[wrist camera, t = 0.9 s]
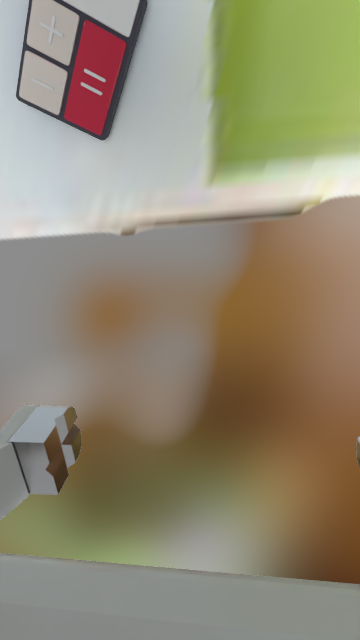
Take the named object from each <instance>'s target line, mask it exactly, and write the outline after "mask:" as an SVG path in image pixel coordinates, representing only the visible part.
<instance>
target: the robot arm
mask: <svg viewBox="0 0 360 640" xmlns="http://www.w3.org/2000/svg"><path fill="white" fill-rule="evenodd" d="M76 419H77V414H76V410H75V408H73V407H72V406H53V405H24V406H21V407H20V408H19V410H18V411H17V412H16V413H15V414H14V415H13V416H12V417H11V418H10V419H9V421H8V422H7V423H6V424H5V425H4V426H3V427H2V428H1V429H0V520H1V519H2V518H3V517H4V516H6V515H7V514H8V513H9V512H10V511H12V510H13V509H14V508H15V507H16V506H18V505H19V504H20V503H21V502H22V501H23V500H25V499H26V498H27V497H28V496H29V494H53V495H58V494H59V492H60V490H61V489H62V487H63V485H64V483H65V481H66V479H67V477H68V475H69V474H68V469H67V468H68V467H69V466H71V465H72V464H74V463H75V462H76V460H77V458H78V456H79V454H80V449H81V445H82V436H81V431H80V429H79V428H78V427H77V426H76V425H75V424H74V423H75V421H76ZM356 453H357V460H358V464H359V467H360V437H358V439H357V445H356ZM0 640H360V585H359V584H346V583H336V582H324V581H312V580H301V579H290V578H278V577H267V576H255V575H244V574H231V573H221V572H209V571H198V570H187V569H175V568H165V567H153V566H142V565H131V564H118V563H107V562H96V561H85V560H73V559H62V558H51V557H39V556H28V555H16V554H4V553H0Z"/></svg>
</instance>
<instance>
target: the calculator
mask: <svg viewBox="0 0 360 640" xmlns="http://www.w3.org/2000/svg"><path fill="white" fill-rule="evenodd" d="M146 7H147V0H29V7H28V14H27V21H26V28H25V35H24V42H23V50H22V57H21V64H20V71H19V78H18V85H17V92H16V97H17V99H18V100H19V101H21V102H23V103H25V104H27V105H29V106H31V107H33V108H35V109H38V110H40V111H42V112H44V113H46V114H48V115H50V116H52V117H54V118H56V119H58V120H60V121H62V122H65V123H67V124H69V125H71V126H73V127H75V128H77V129H79V130H81V131H83V132H85V133H87V134H89V135H92V136H94V137H96V138H98V139H100V140H105V139H106V138H107V137H108V136H109V133H110V129H111V126H112V122H113V119H114V116H115V112H116V109H117V105H118V102H119V99H120V95H121V92H122V88H123V85H124V81H125V78H126V74H127V71H128V68H129V64H130V61H131V57H132V54H133V50H134V47H135V44H136V41H137V38H138V35H139V31H140V28H141V24H142V21H143V18H144V14H145V11H146Z"/></svg>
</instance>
